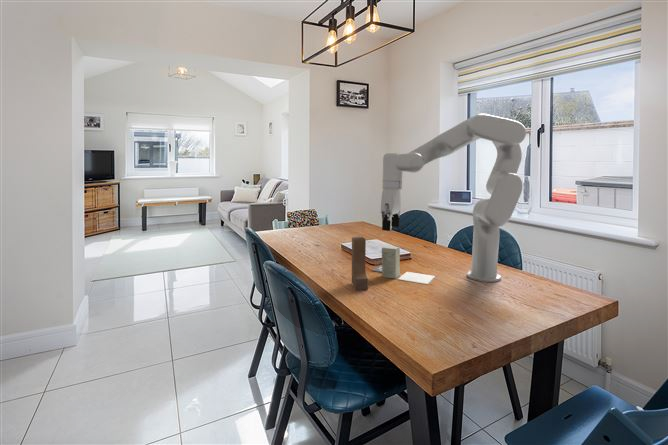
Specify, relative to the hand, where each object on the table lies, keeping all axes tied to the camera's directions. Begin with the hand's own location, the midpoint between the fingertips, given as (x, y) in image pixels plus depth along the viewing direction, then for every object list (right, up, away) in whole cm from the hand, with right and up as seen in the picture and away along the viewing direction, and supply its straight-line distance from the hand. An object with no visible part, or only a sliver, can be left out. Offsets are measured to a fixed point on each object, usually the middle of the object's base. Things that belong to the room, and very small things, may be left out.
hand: (390, 228), depth 143 cm
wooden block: (-13, -22, -9) cm, 27 cm away
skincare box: (0, -20, +3) cm, 20 cm away
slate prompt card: (-2, -18, +13) cm, 22 cm away
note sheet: (+10, -20, +1) cm, 22 cm away
